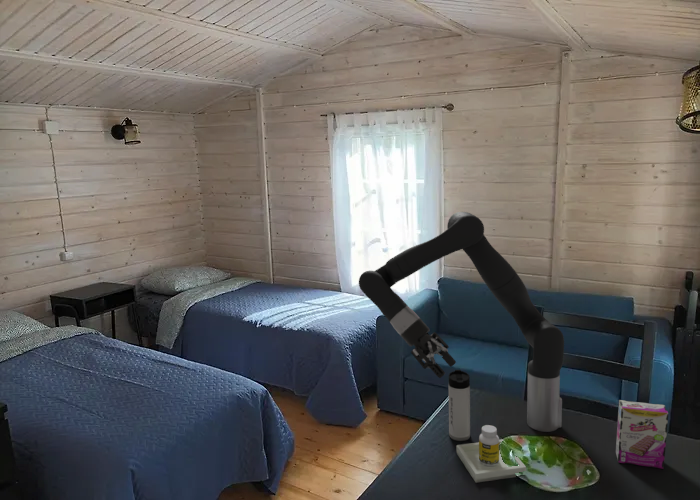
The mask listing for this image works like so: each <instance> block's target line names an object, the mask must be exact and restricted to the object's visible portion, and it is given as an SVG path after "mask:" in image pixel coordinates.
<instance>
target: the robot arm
mask: <svg viewBox="0 0 700 500" xmlns="http://www.w3.org/2000/svg"><path fill="white" fill-rule="evenodd" d="M484 233H485V225H484V223H483V221H482V220H481V219H480V218H479V217H478V216H476V215H475V214H473V213H471V212H468V211H459V212H458V211H457V212H455V213H453V214H452V215H451V216H450V217H449V219H448V221H447V229H446V230H445V231H443V232H442V233H440V234H438V235H437V236H435V237H434V238H431V239H429V240H427V241H424V242H422V243H419V244H416V245H413V246H412V247H409V248H407V249H404V251H402V252H400V253H398V254H397V255H395V256H393V257H391V258H389V259H388V260H387V261H386V263H385V264H384V265H382V266H380V267H378V268H377V269H375V270H365V271H364V272H362V274H361V275H360V276H359V278H358V286H359V288H360V290H361V292H363V294H364V295H365V296H366V297H367V298H368V299H369V301H371V302H372V303H373V304H374V305H375V306H376V307H377V308H378V310H379V311H380V312H381V313H382V315H383V316H384V317H385V318H386V319H387V321H389V323H390V324H391V326H392V327H393V329H394V330H395V331H396V332H397V334H399V336H400V337H401V338H402V339H403V340H404V341H405V343H406V344H407V345H408V347H413V346H414V347H415V348H414V349H412V350H411V351H410V353H411V355H412V356H413V357H414V359H415V360H416V361H417V362H418V364H419V365H420V366H421V367H422V369H424V370H425V369H430V370H431V371H432V372H433V373H434V374H435V375H436V377H437V378H439V379H441V378H442V377H443V376H445V374H446V372H445V370H444V369H442V367H441V366H440V364H438V362H436V359H435V355H438V356H440V357H441V358H442V359H443V360H444V362H445V363H446V364H447V365H448V366H449V367H452V366H454V365H455V364H456V363H457V362H456V360H455V358H454V357H453V356H452V355H451V354H450V353H449V352H448V351H449V347H450V346H449V345H448V344H447V343H446V342H445V341H444V339H442V338H441V336H440V335H438V333H437V332H435V331H434V332H432V334H429V332H430V328H429V326H427V324H426V323H425V321H423V319H422V318H420V316H419V315H418V314H417V313H416V312H415V311H414V310H413V309H412V308H410V306H408V304H407V303H406V302H405V300H403V299H402V298H401V297H400V296H399V295H398V294H397V293H396V292H394V290H393V289H392V287H393V286H394V285H396V284H397V283H398V282H400V281H402V280H404V279H406V278H409V276H411V275H413V274H415V273H416V272H418V271H420V270H421V269H423V268H426V266H428V265H430V264H432V263H434V262H436V261H438V260H440V259H441V258H444V257H447V256H449V255H451V254H454V253H455V252H458V251H460V250H462V251H464V253H465V254H466V255H467V256H468V257H469V259H470V260H471V262H472V264H473V265H474V268H475V269H476V271H477V272H478V274H479V275H480V277H481V279H482V281H483V282H484V283H485V284H486V287H487V288H488V289H489V291H490V292H491V294H492V295H493V296H494V297H495V299H496V300H497V301H498V302H499V304H500V305H501V306H502V307H503V308H504V309H505V310H506V312H507V313H509V315H511V317H512V319H514V321H515V323H516V325H517V326H518V327H519V330H520V331H521V333H522V335H523V336H524V339H525V340H526V342H527V344H529V345H530V346H531V347H532V349H533V352H532V360H530V361H529V362H528V364H527V393H526V394H527V398H526V399H527V400H526V401H527V404H526V405H527V406H526V410H527V411H526V423H527V425H528V427H529V428H531V429H533V430H536V431H538V432H545V433H547V432H548V433H549V432H554V431H556V430H557V429H559V428H562V416H563V415H562V414H563V413H562V411H563V410H562V408H563V399H562V397H560V381H561V380H560V379H561V376H560V375H561V373H560V372H561V369H562V367H563V364H564V355H565V354H564V352H565V338H564V334H563V332H562V331H561V330H560V328H558V327H557V326H556V325H554V324H552V323H551V322H550V321H549V320H547V318H545V317H544V316H543V314H541V313H540V312H539V310H538V309H537V308H536V306H535V305H534V303H533V301H532V300H531V297H530V295H529V292H528V290H527V287H526V285H525V283H524V282H523V280H522V278H521V277H520V275H519V274H518V273H517V271H516V270H515V269H514V268H513V267H512V265H511V264H510V263H509V262H508V261H507V259H506V258H504V257H503V256H502V255H501V254H500V253H499V252H498V251H497V250H496V249H495V247H493V246H492V245H491V243H490V242H489V241H488V239H487V237H486V236H485V234H484Z"/></svg>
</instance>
